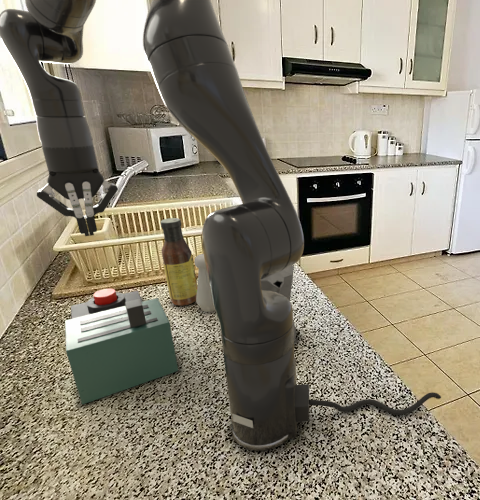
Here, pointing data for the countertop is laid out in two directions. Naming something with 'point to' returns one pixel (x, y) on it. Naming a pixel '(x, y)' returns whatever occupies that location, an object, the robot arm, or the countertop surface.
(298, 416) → the robot arm
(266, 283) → the coffeepot
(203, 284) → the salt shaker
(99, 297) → the button
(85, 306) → the button base
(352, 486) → the countertop surface
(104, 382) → the toaster
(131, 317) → the toaster slider
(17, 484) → the countertop surface
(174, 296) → the sauce bottle
